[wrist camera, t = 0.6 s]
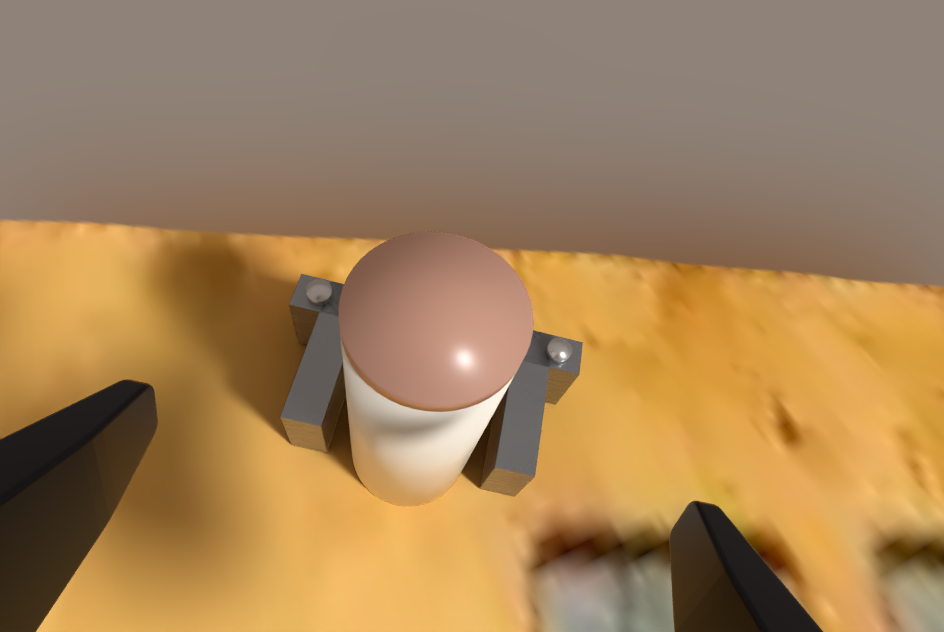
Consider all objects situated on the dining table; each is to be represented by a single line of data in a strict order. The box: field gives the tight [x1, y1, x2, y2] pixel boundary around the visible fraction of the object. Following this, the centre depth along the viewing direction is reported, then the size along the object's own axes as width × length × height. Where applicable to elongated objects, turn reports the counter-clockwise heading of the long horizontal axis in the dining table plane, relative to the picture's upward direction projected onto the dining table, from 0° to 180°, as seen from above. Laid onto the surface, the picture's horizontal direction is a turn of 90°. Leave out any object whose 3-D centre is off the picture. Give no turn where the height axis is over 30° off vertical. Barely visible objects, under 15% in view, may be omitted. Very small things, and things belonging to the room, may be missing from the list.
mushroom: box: [339, 232, 534, 506], centre depth 20 cm, size 5×5×12 cm
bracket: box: [280, 274, 583, 496], centre depth 24 cm, size 6×12×4 cm, turn 79°
